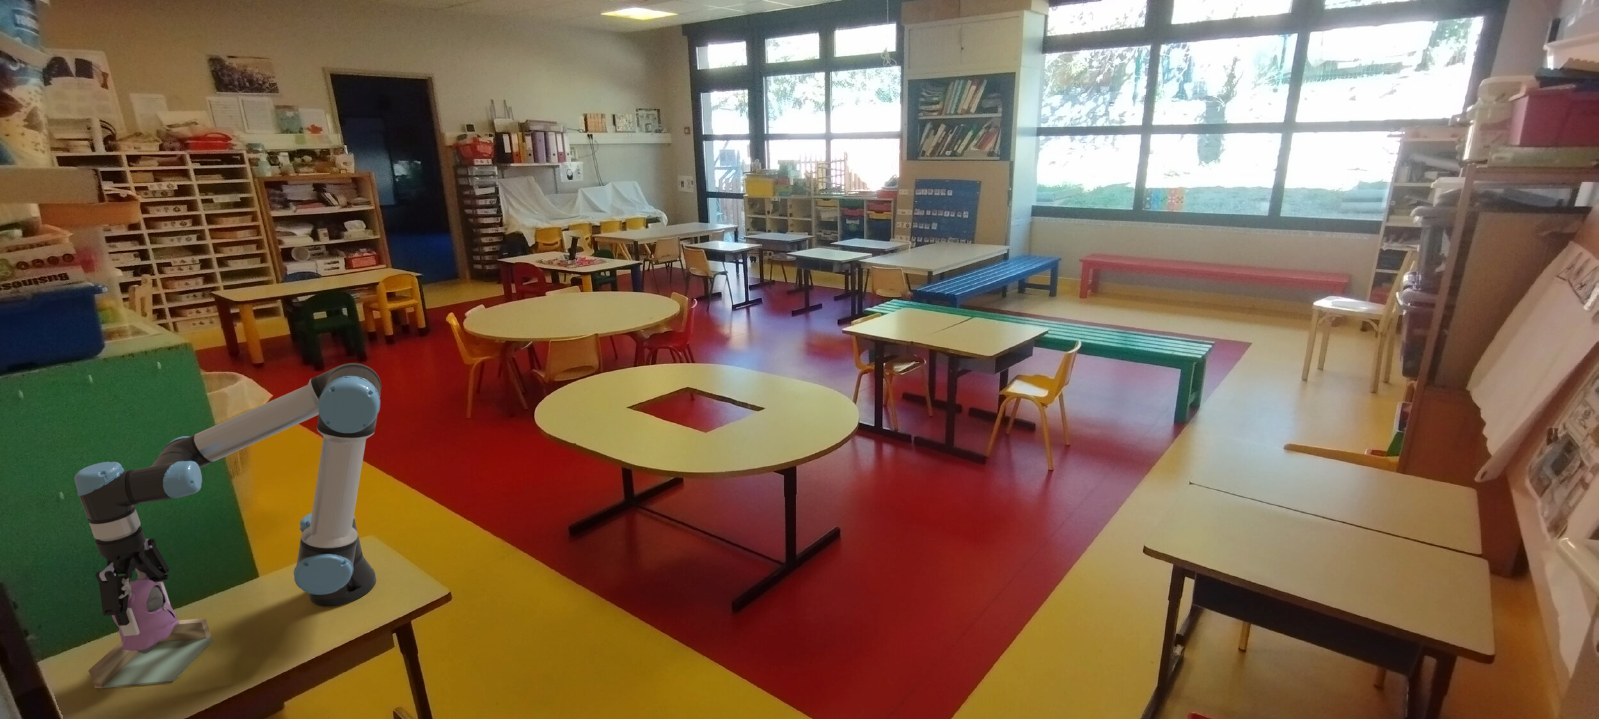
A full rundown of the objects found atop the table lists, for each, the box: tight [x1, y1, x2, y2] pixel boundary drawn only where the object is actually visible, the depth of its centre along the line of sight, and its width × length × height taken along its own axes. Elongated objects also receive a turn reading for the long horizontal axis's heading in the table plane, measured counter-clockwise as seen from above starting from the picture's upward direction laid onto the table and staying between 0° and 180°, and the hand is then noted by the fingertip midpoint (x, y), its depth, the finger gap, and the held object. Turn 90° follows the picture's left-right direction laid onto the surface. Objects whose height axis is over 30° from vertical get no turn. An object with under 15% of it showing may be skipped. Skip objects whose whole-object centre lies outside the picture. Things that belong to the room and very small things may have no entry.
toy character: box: [111, 568, 179, 654], centre depth 161 cm, size 12×10×20 cm
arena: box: [88, 617, 214, 689], centre depth 167 cm, size 16×16×5 cm
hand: (147, 619), depth 162 cm, fingers closed on toy character, 9 cm apart
